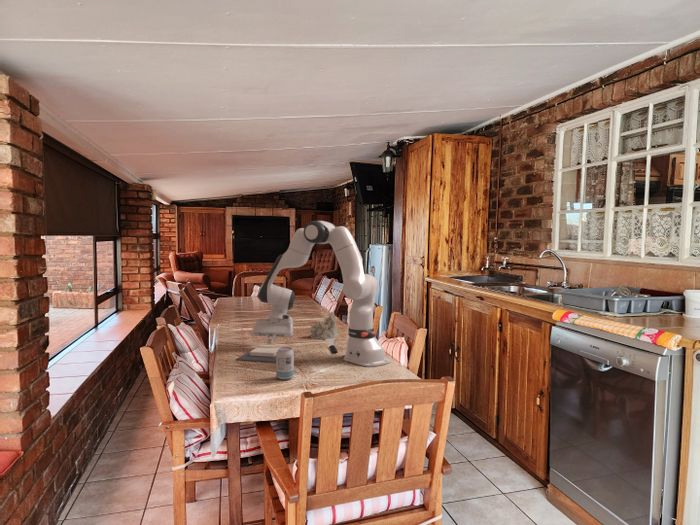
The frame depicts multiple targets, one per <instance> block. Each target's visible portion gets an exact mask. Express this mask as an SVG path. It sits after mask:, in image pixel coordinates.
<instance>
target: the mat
mask: <svg viewBox="0 0 700 525" xmlns="http://www.w3.org/2000/svg"><path fill="white" fill-rule="evenodd" d="M252 350H253V349H252ZM252 350H249V351H247V352H245V353H243V354H242V355H241V356H239V357H237V358H235V361H237V360H242V361H241V362H253V361H260V362H259V363H269V362H274V363H273V364H276V356H275V357H259V356H251V355H250V351H252Z"/></svg>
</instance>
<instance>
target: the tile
mask: <svg viewBox="0 0 700 525" xmlns="http://www.w3.org/2000/svg"><path fill="white" fill-rule="evenodd" d="M278 348H281V346H262V345H261V346H257V347H256V348H254V349H252V351H250V350H249V351H250V355H251V356H259V357H275V356H276V353H277V351H278Z"/></svg>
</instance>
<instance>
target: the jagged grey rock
mask: <svg viewBox="0 0 700 525" xmlns="http://www.w3.org/2000/svg"><path fill="white" fill-rule="evenodd" d="M310 327H311V328H310V333H311V335H310V339H311V338H314V339H315V340H322V339H329V338H335V339H337V338H336V337H339V331H338V330H337V329H338V328H337V325H336V316H335V313H334V311H332V312H330V315H329V316H328V317H324V321H316V323H315V324H314V323H313V324H311V326H310ZM314 339H313V340H314Z"/></svg>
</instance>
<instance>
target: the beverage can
mask: <svg viewBox="0 0 700 525" xmlns="http://www.w3.org/2000/svg"><path fill="white" fill-rule="evenodd" d="M280 347H281V346H280ZM294 358H295V356H294V350H293V348H292V347H289V346H285V347H284V346H283V347H281V348H278V351H277V353H276V363H275V366H276V368H275V369H276V371H275V372H276V378H277V379H279V380H281V381H288V380H289V381H290V380H291V379H292V378H293V377H294V376H295V372H294V371H295V366H294V365H295V364H294V363H295V362H294V361H295V359H294Z"/></svg>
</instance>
